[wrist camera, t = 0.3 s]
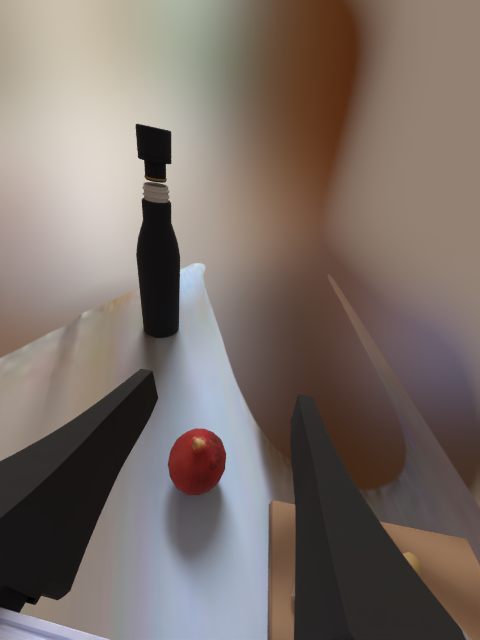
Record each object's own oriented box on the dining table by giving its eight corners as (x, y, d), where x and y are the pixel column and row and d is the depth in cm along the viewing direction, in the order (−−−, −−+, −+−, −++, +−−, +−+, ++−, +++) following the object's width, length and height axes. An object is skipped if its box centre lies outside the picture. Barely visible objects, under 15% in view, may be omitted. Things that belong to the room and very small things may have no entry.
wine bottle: (173, 340, 42) (173, 131, 24) (137, 334, 42) (111, 118, 24) (182, 319, 47) (188, 134, 29) (151, 314, 47) (137, 123, 29)
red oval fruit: (212, 440, 29) (219, 404, 25) (228, 491, 25) (241, 460, 21) (164, 457, 27) (162, 421, 22) (174, 516, 23) (175, 487, 18)
